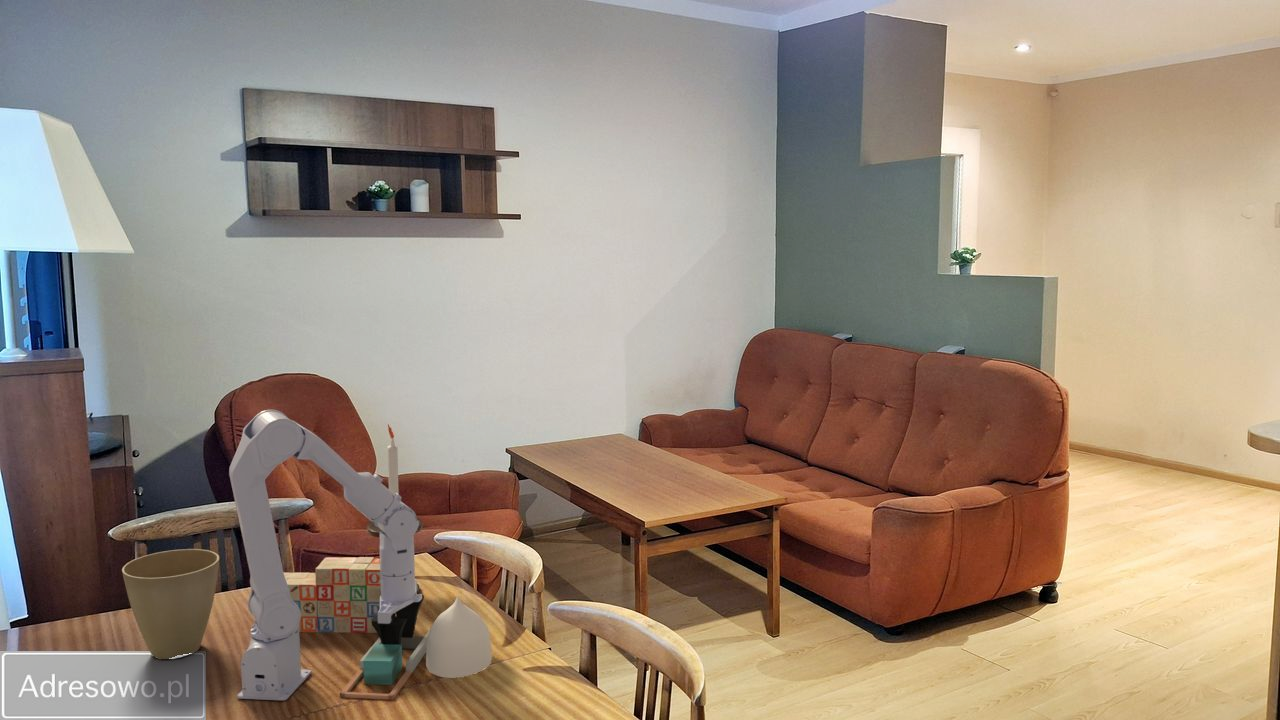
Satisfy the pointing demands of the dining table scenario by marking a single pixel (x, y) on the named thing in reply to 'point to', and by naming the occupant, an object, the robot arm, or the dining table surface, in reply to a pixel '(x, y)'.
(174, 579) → the plant pot
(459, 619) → the teardrop
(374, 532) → the candlestick
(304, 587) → the stack of blocks
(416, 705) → the dining table surface
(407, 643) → the channel
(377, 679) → the block
